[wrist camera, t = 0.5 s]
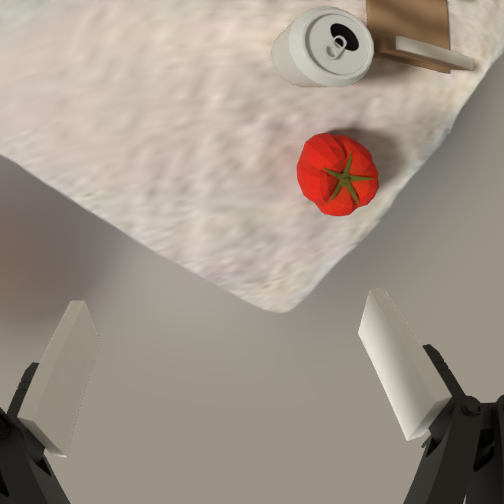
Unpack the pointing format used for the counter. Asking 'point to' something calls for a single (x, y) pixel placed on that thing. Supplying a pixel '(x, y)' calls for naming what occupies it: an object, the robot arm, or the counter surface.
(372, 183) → the tomato
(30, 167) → the counter surface
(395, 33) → the cradle holder
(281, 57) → the can
